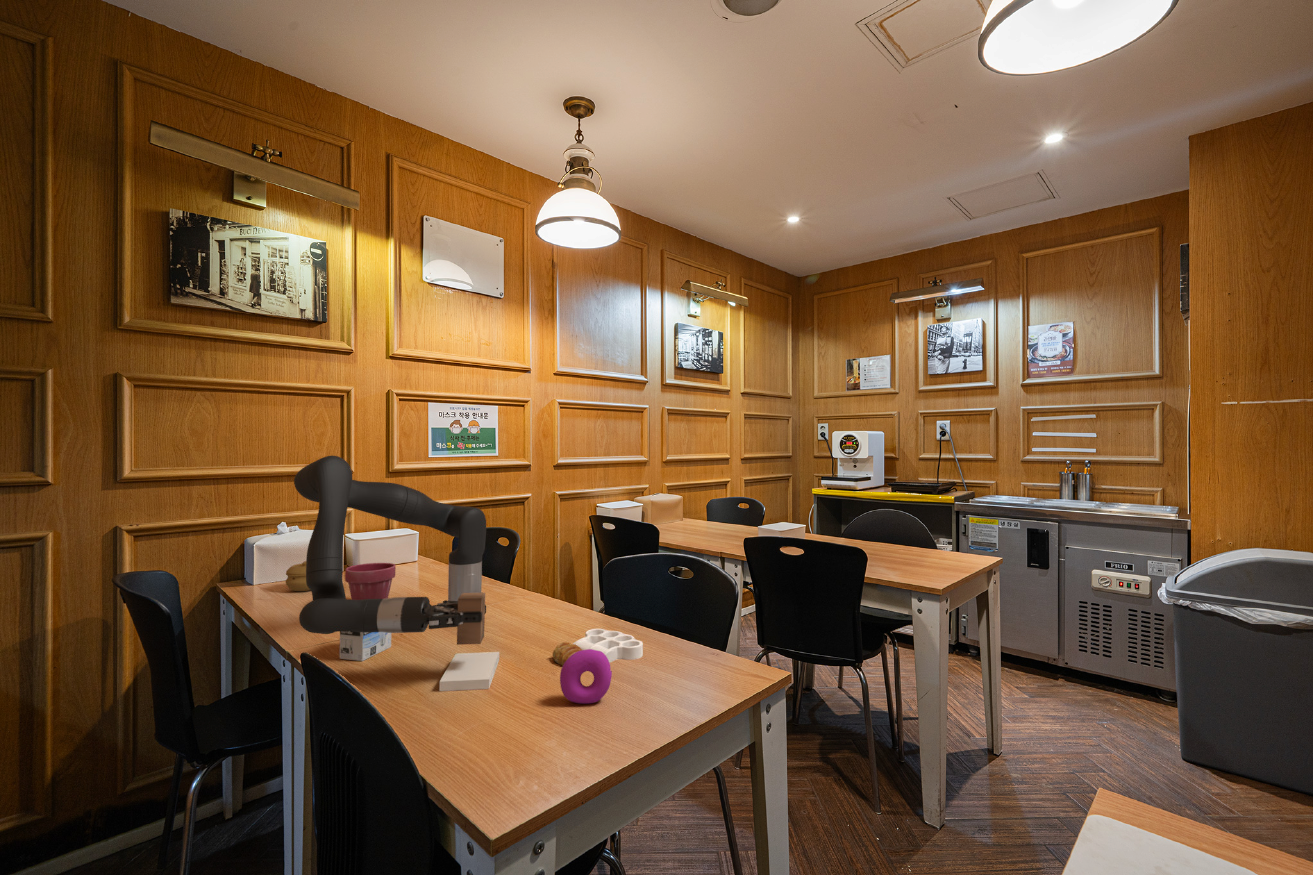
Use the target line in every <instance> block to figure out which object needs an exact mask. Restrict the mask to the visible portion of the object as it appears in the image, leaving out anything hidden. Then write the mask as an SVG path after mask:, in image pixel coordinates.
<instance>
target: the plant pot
mask: <svg viewBox="0 0 1313 875" xmlns="http://www.w3.org/2000/svg"><path fill="white" fill-rule="evenodd" d="M396 569H397V568H396V564H395V563H392V562H371V563H369V562H368V563H362V564H361V563H360V564H356V565H350V566H348V567H346V568H345V570H344V571H345V572H344V573H345V574H344V581H345V582H346V583H348V588H349V594H350V597H351V598H350V599H351V600H363V599H386V598H389V596H390V590H391V586H392V582H393V579H394V578H396Z"/></svg>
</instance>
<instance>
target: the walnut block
mask: <svg viewBox="0 0 1313 875" xmlns="http://www.w3.org/2000/svg"><path fill="white" fill-rule="evenodd" d="M485 605H486V592H481V593H462V594H461V596H460V597H459V598H458V611H462V612H475V611H481V612H482V620H481V622H472V623H464V622H463V624H459V626H457V627H456V645H457V646H458V645H459V646H460V645H481V644H482V643H483V642H482V641H483V640H484V638H485V623H486V622H485V621H486V620H485V619H486V617H485V616H486V613H485Z"/></svg>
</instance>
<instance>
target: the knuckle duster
mask: <svg viewBox="0 0 1313 875" xmlns="http://www.w3.org/2000/svg"><path fill="white" fill-rule="evenodd" d="M572 644H576V645H577V646H579V647H580V648H581V649H582V650H587V649H593V650H597V651H601V652H603V653H604V654H605V655H606V657H607V658H608V660H609V663H610V664H611V663H612V662H614V661H617V660H627V661H632V660H633V661H634V660H638V659H640V658H642V657H643V655H644V654H643V652H644V651H643V650H644V644H643V641H642V640H638V639H636V638H635V637H634V636H633V635H631V634H626V633H624V632H621V631H617V630H609V629H608V630H607V629H604V628H592V629H588V630H587V631H585V635H584V637H581V638H579V639H578V640H575V642H573V643H572Z"/></svg>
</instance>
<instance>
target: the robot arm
mask: <svg viewBox="0 0 1313 875" xmlns="http://www.w3.org/2000/svg"><path fill="white" fill-rule="evenodd" d="M349 464H350V463H348V462H347V460H345V459H344V458H342V457H340V456H338V455H327V456H324V457H321V458H319V459H317V460H315V461H313V462H311V463H309V464H307V465H306V466H304V467H302V468H301V469H300V470H299V471H298V472H297V473H296V474H295V476H294V479H293V484H294V487H295V489H296V491H297V493H298V494H299V495H301V496H302V497H303V498H304V499H306V500H309V501H312V502H315V503H318V513H317V517H316V522H315V524H314V527H313V531H312V533H311V535H310V538H309V543H308V546H307V551H306V558H305V559H306V560H305V561H306V584H307V586H308V588H309V589H310V590H309V591H311V595H312V597H311V598H312V600H311V601H309V602H307V604H305V605H304V606H303V608H302V609H301V610H300V613H299V617H298V619H299V624H300V626H301V627H302V628H303V630H305V631H306V632H309V633H312V634H321V635H331V634H334V633H337V632H339V633H340V631H354V632H386V633H391V634H402V633H403V634H404V633H405V634H407V633H409V634H410V633H423V632H426V630H427V629H428V630H435V629H446V628H447V629H448V628H457V626H459V624H463V622H464V623H472V622H481V620H482V612H481V611H475V612H462V611H458V598H459V597H460V596H461V594H462V593H482V587H483V584H482V580H483V578H482V577H483V571H482V570H483V568H482V567H483V566H482V565H483V554H484V553H485V550H486V540H487V538H486V536H487V518H486V515H485V512H484V511H483V510H482V509H480V508H478V507H473V506H463V505H452V504H447V503H443V502H439V501H437V500H435V499H432V498H431V497H430V496H428V495H427V494H425V493H424V492H421V491H420V490H417V489H415V488H412V487H408V486H406V485H402V484H400V483H396V482H395V483H394V482H385V481H384V482H383V481H361V480H355V479H353V471H352V468H351V465H349ZM348 508H349V509H353V510H354V509H355V510H357V511H361V512H363V513H368V514H371V515H373V516H374V515H375V516H378V517H383V518H385V519H389V520H392V521H395V522H400V523H404V524H408V525H409V524H410V525H415V526H425V527H429V528H431V529H435V530H436V531H439V532H442V533H444V534H447V535H449V536H451V537H454V538H458V541H457V542H458V544H457V547H456V549H454V550H453V551H450V552H449V554H448V581H447V583H448V584H447V585H448V586H447V590H448V591H447V592H448V593H447V599H445V600H442V602H438V603H436V604H434V605H432V604H431V603H430V601H431V600H430V599H429V597H427V596H398V597H396V596H395V597H388V598H386V599H363V600H352V599H351V598H350V599H347V597H346V591H345V587H344V583H343V571H344V570H343V568H344V567H343V559H344V558H343V557H344V556H343V555H344V554H343V553H344V552H343V548H344V534H345V526H346V520H347V519H346V518H347V513H348ZM486 613H487V605H486V604H485V614H486Z"/></svg>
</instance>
